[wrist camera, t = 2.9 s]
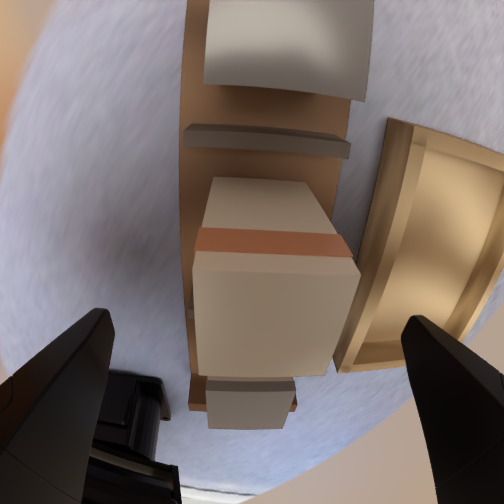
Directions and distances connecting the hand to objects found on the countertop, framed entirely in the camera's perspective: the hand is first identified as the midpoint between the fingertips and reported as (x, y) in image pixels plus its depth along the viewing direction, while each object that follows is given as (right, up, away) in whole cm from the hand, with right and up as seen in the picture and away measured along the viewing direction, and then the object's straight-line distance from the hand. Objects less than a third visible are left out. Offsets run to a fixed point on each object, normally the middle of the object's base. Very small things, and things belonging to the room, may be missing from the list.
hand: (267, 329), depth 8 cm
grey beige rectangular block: (-1, -3, +10) cm, 10 cm away
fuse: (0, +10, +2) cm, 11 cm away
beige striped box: (0, +4, +6) cm, 7 cm away
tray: (+10, +2, +8) cm, 14 cm away
